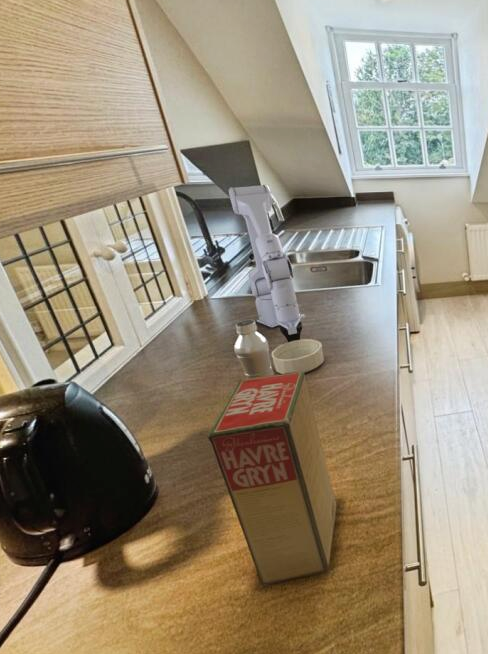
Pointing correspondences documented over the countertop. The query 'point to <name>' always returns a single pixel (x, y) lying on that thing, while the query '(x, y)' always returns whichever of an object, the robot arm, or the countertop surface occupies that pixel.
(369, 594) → the countertop surface
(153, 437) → the countertop surface
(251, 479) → the food packaging
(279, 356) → the bowl
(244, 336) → the plastic bottle
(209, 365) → the countertop surface
